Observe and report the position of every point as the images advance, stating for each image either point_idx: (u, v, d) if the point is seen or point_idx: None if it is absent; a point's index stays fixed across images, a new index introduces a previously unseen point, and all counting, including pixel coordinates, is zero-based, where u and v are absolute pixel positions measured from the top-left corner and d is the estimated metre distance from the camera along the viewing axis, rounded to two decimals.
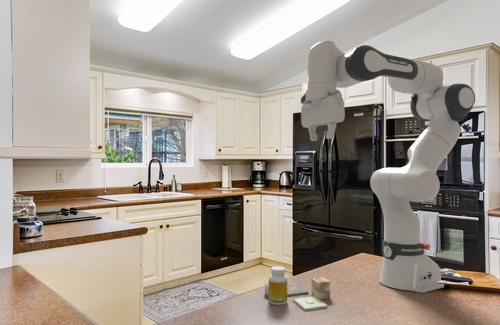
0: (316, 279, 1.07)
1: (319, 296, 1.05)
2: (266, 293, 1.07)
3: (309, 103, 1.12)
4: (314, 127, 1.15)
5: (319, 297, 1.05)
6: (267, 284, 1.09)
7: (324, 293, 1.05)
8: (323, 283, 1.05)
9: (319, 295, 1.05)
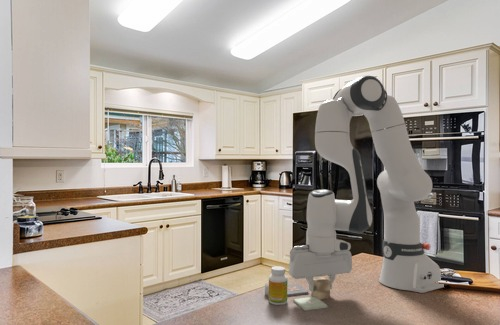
0: (316, 279, 1.07)
1: (319, 296, 1.05)
2: (266, 293, 1.07)
3: None
4: (330, 274, 1.08)
5: (319, 297, 1.05)
6: (267, 284, 1.09)
7: (324, 292, 1.05)
8: (323, 283, 1.05)
9: (319, 295, 1.05)
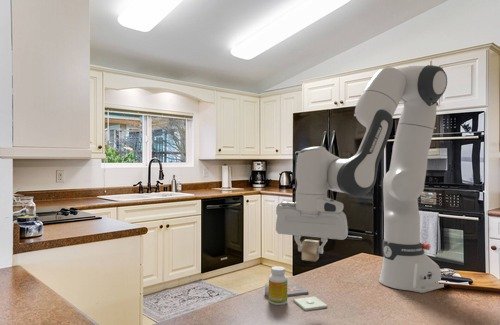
0: (307, 240, 1.02)
1: (303, 256, 1.00)
2: (266, 293, 1.07)
3: None
4: None
5: (303, 257, 1.00)
6: (267, 284, 1.09)
7: (308, 254, 0.99)
8: (308, 244, 0.99)
9: (303, 255, 1.00)
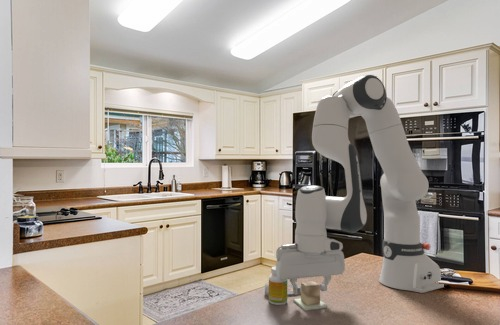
0: (306, 283, 1.01)
1: (308, 301, 0.98)
2: (266, 293, 1.07)
3: None
4: None
5: (308, 302, 0.98)
6: (267, 284, 1.09)
7: (313, 298, 0.99)
8: (313, 287, 0.99)
9: (308, 300, 0.98)
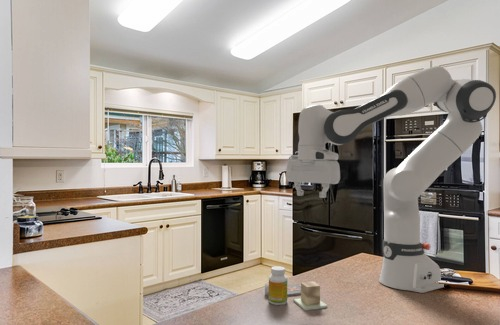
0: (306, 283, 1.01)
1: (308, 301, 0.98)
2: (266, 293, 1.07)
3: None
4: None
5: (308, 302, 0.98)
6: (267, 284, 1.09)
7: (313, 298, 0.99)
8: (312, 288, 0.99)
9: (308, 300, 0.98)
